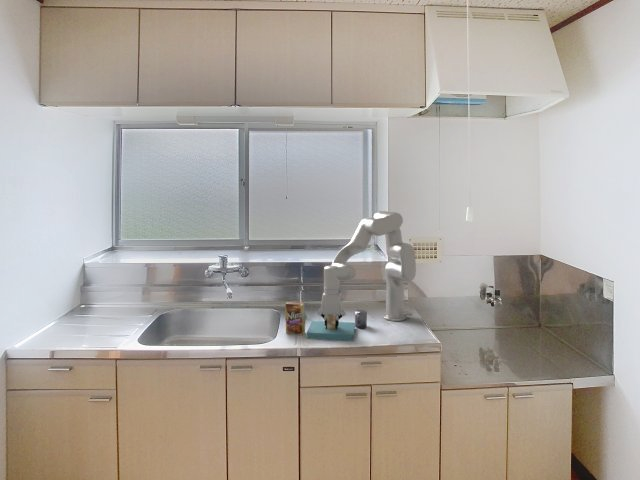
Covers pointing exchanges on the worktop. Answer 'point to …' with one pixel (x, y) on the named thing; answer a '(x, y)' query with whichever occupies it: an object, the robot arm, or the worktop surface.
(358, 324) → the round bit
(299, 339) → the worktop surface
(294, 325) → the candy box
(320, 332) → the socket block
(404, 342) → the worktop surface
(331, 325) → the square bit
